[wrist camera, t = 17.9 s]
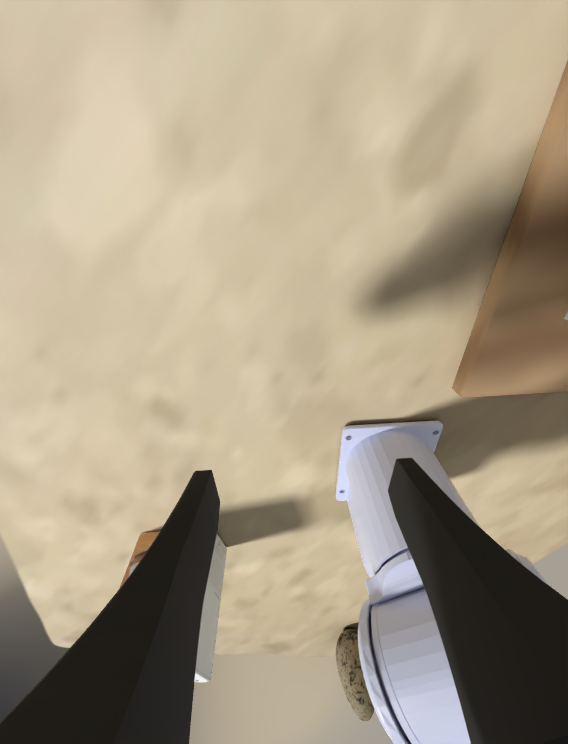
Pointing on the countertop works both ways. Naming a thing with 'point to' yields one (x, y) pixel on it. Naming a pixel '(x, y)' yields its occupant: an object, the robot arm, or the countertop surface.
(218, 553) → the small box
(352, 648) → the decorative egg
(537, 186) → the oak board
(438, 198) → the countertop surface
